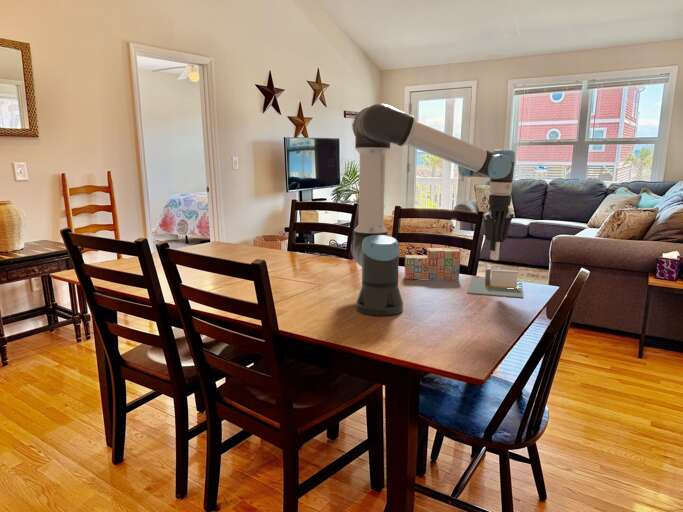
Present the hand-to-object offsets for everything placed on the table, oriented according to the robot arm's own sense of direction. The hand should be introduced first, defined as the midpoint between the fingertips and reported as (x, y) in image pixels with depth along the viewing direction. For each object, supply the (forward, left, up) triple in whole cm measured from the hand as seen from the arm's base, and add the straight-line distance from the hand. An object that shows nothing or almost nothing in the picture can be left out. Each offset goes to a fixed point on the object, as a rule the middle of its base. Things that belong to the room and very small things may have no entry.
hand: (494, 259), depth 174 cm
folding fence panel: (+6, -3, -11) cm, 13 cm away
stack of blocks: (+12, +24, -12) cm, 30 cm away
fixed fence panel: (+12, +2, -12) cm, 17 cm away
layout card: (+5, -1, -12) cm, 13 cm away
